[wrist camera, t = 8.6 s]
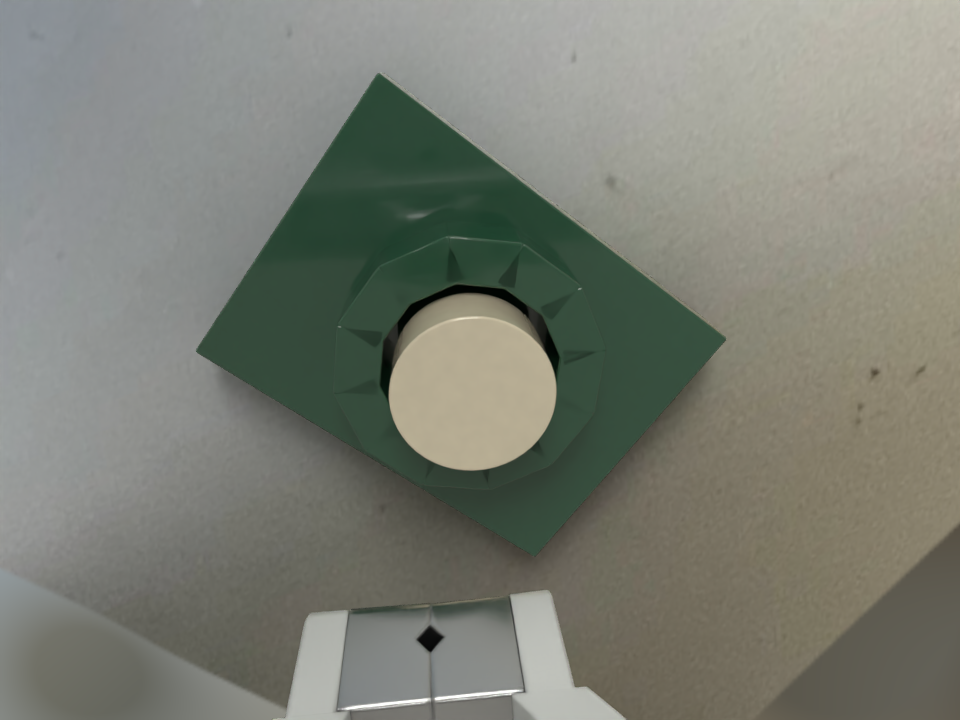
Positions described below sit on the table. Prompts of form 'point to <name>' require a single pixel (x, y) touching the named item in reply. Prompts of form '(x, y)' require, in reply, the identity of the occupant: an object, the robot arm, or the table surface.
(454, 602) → the robot arm
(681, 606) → the table surface
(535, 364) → the cream short cylinder
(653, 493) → the table surface
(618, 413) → the green peg board
